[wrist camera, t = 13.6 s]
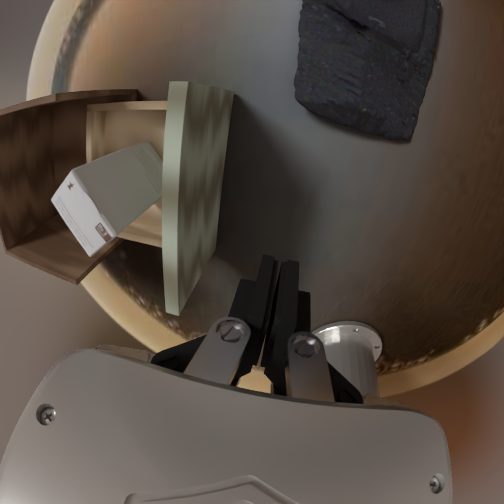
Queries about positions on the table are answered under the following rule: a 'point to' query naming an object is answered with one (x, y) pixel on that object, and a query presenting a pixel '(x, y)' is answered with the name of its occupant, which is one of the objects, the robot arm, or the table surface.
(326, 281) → the table surface
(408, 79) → the black tote bag
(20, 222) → the walnut box
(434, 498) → the robot arm
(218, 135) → the pull-out wooden drawer
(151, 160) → the skincare box
